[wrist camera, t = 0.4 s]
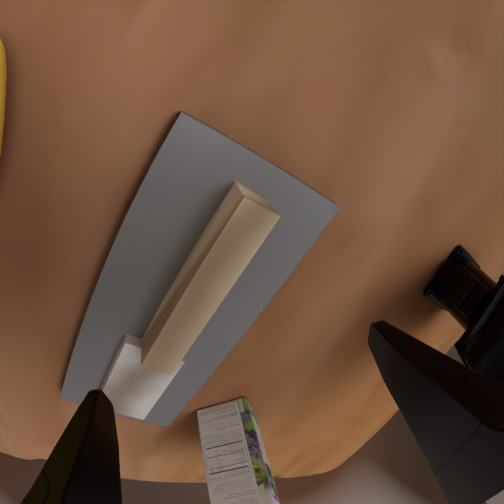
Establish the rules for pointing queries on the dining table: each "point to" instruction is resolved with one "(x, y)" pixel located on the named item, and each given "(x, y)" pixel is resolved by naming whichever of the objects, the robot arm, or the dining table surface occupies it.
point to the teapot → (2, 89)
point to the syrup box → (235, 455)
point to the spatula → (189, 302)
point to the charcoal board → (178, 250)
